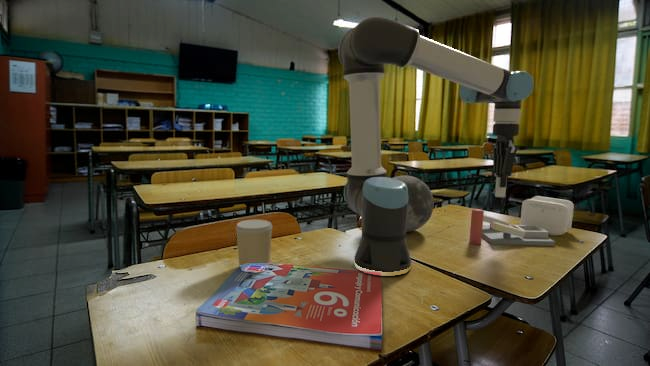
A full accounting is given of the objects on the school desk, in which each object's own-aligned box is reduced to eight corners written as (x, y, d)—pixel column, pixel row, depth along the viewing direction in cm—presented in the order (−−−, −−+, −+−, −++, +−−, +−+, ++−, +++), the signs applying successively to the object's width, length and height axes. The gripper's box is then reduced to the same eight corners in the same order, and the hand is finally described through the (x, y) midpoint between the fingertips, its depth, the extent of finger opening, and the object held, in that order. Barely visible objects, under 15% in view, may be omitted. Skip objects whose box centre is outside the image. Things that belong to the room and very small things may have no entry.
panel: (491, 244, 123) (492, 234, 122) (471, 228, 141) (472, 219, 140) (554, 245, 123) (555, 235, 122) (526, 230, 140) (527, 220, 140)
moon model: (368, 234, 132) (370, 177, 129) (382, 220, 150) (385, 170, 147) (427, 242, 124) (431, 181, 121) (435, 227, 143) (438, 174, 139)
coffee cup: (259, 258, 107) (258, 217, 105) (279, 268, 100) (279, 224, 99) (229, 267, 101) (228, 223, 99) (249, 277, 94) (248, 230, 92)
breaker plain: (481, 220, 134) (482, 215, 134) (477, 218, 137) (479, 213, 137) (507, 228, 135) (509, 223, 134) (504, 226, 138) (506, 220, 137)
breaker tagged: (494, 229, 123) (496, 223, 123) (490, 226, 127) (492, 221, 126) (523, 238, 124) (525, 232, 123) (518, 235, 127) (520, 229, 127)
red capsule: (471, 244, 122) (474, 211, 120) (467, 241, 126) (470, 208, 124) (482, 245, 122) (485, 211, 120) (478, 241, 126) (481, 209, 124)
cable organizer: (573, 232, 138) (577, 201, 136) (563, 238, 131) (567, 205, 129) (529, 224, 149) (533, 195, 147) (518, 228, 142) (521, 198, 141)
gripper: (528, 123, 113) (521, 201, 117) (508, 123, 126) (502, 193, 130) (503, 123, 113) (496, 200, 117) (486, 122, 126) (480, 192, 130)
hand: (500, 196), depth 123 cm, fingers closed
